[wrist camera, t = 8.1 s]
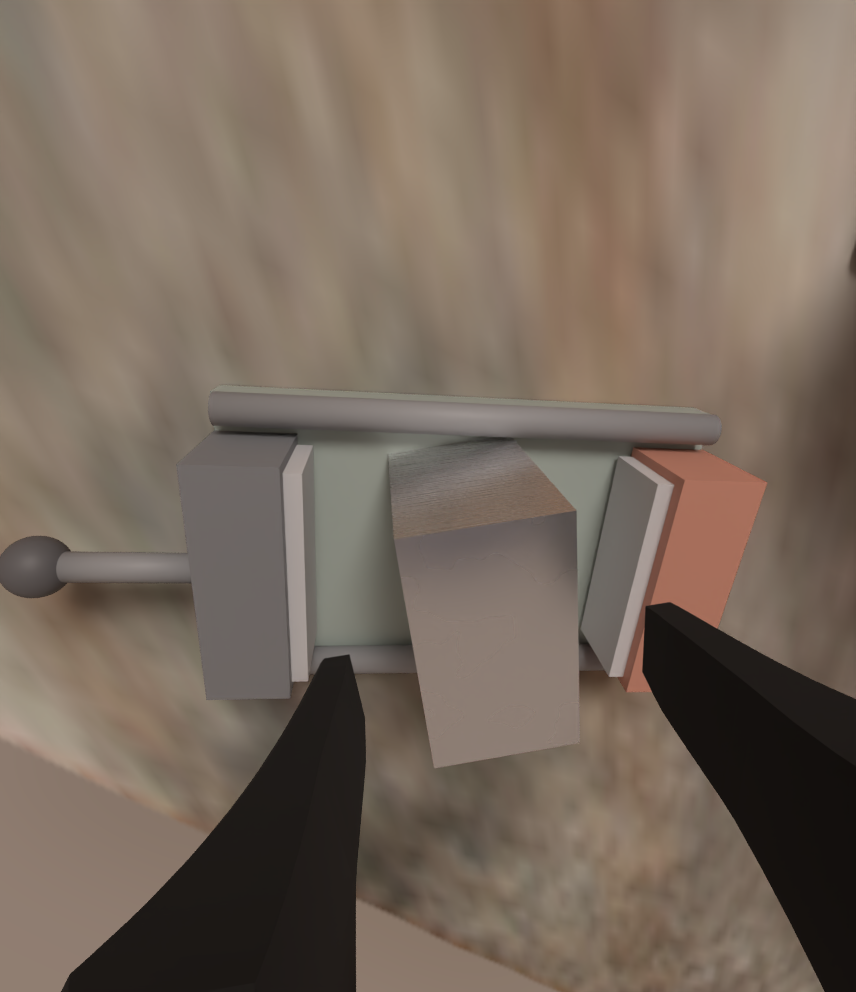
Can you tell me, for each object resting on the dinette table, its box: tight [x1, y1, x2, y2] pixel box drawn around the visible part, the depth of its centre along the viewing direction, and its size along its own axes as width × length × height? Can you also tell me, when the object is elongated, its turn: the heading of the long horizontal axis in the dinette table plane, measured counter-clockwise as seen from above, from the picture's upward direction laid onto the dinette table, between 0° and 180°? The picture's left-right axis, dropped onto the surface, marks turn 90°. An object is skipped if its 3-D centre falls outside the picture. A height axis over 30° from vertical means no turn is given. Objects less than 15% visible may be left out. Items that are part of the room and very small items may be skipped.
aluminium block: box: [388, 437, 580, 768], centre depth 15 cm, size 4×7×6 cm, turn 7°
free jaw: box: [581, 447, 767, 692], centre depth 17 cm, size 3×8×3 cm, turn 176°
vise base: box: [0, 385, 722, 700], centre depth 17 cm, size 22×10×4 cm, turn 86°
